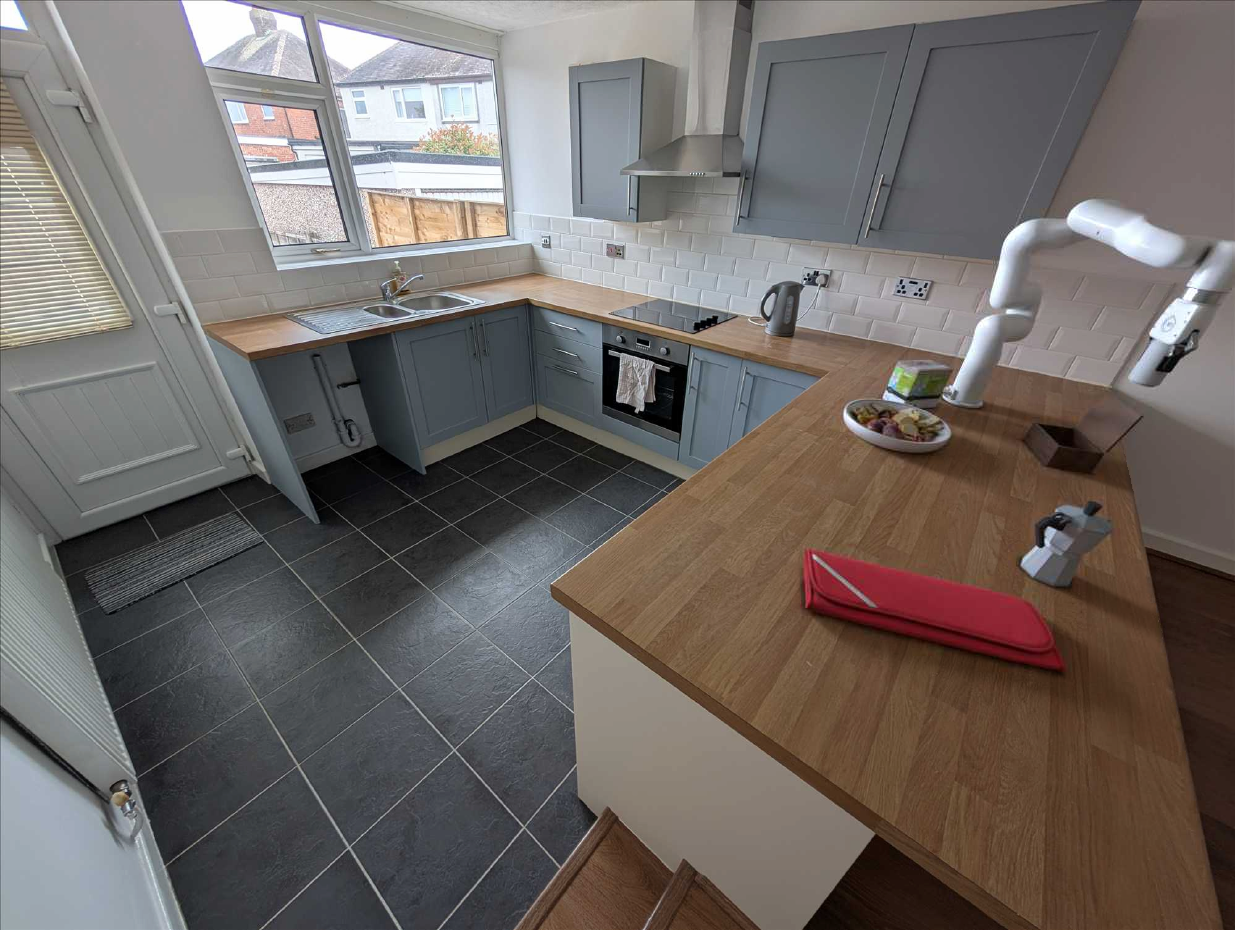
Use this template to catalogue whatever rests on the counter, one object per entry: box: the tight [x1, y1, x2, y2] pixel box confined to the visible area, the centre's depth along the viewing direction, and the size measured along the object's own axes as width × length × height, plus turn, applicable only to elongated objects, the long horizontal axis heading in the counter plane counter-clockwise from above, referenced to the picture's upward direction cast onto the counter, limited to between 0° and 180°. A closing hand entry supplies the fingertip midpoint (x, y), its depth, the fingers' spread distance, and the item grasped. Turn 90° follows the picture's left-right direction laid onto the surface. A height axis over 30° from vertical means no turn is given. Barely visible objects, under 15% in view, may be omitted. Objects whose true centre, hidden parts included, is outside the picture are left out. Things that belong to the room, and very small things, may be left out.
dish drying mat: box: [803, 547, 1067, 672], centre depth 88 cm, size 16×41×4 cm, turn 74°
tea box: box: [882, 359, 954, 409], centre depth 166 cm, size 15×10×15 cm, turn 105°
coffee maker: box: [1020, 500, 1115, 588], centre depth 95 cm, size 15×9×18 cm, turn 92°
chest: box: [1022, 421, 1106, 475], centre depth 141 cm, size 11×16×7 cm
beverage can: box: [1127, 339, 1183, 388], centre depth 124 cm, size 6×6×12 cm
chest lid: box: [1074, 391, 1145, 454], centre depth 134 cm, size 12×16×1 cm
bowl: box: [843, 398, 952, 454], centre depth 148 cm, size 30×30×8 cm
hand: (1153, 366), depth 125 cm, fingers closed on beverage can, 6 cm apart
